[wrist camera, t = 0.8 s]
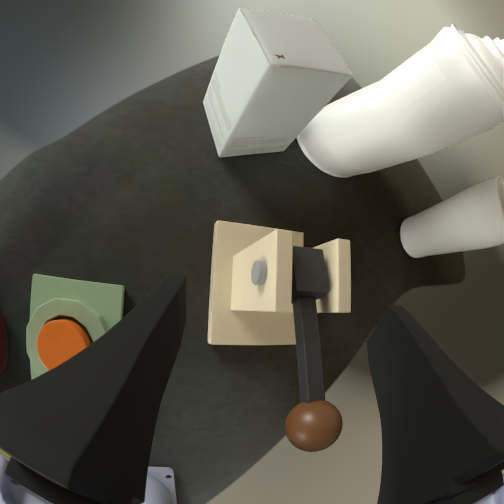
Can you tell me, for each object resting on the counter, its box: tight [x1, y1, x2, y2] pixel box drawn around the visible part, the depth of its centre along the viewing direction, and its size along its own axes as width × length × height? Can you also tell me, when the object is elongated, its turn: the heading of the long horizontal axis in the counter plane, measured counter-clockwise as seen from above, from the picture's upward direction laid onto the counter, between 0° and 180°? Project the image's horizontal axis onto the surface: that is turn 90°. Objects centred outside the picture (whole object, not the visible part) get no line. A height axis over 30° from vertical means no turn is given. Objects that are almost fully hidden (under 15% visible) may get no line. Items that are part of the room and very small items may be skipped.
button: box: [37, 319, 91, 370], centre depth 16 cm, size 4×4×2 cm
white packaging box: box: [203, 7, 353, 158], centre depth 21 cm, size 7×7×13 cm
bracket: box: [208, 221, 351, 345], centre depth 20 cm, size 10×8×10 cm
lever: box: [285, 246, 342, 452], centre depth 15 cm, size 12×3×3 cm, turn 178°
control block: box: [26, 274, 125, 379], centre depth 17 cm, size 10×8×3 cm
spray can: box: [296, 24, 504, 178], centre depth 20 cm, size 12×11×25 cm
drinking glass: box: [400, 176, 504, 258], centre depth 26 cm, size 7×7×15 cm
